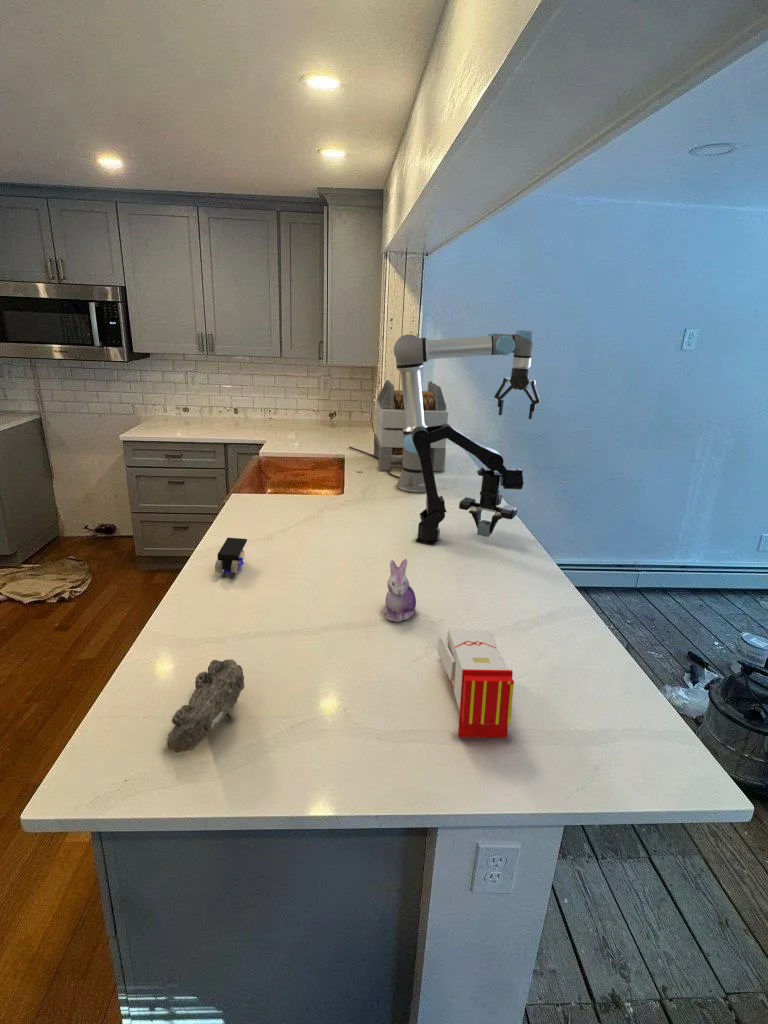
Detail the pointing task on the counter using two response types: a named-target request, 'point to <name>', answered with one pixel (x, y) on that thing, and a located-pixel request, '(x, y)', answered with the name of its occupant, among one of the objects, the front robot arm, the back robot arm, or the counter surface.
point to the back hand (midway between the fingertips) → (515, 416)
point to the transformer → (393, 423)
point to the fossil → (206, 705)
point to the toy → (478, 682)
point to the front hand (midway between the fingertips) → (485, 531)
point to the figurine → (399, 594)
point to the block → (484, 528)
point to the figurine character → (230, 556)
